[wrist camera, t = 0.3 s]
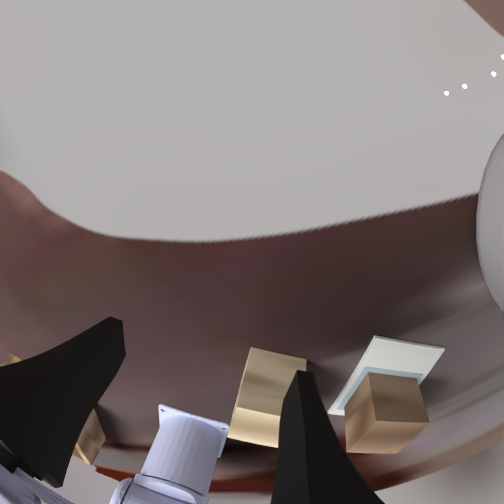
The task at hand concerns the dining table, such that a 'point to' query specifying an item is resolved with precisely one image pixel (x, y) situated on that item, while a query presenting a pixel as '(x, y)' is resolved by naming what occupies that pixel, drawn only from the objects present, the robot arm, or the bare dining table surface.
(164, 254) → the dining table surface
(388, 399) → the walnut block
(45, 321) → the dining table surface
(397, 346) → the white flat plate
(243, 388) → the maple block
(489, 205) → the jar
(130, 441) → the dining table surface
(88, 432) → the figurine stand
